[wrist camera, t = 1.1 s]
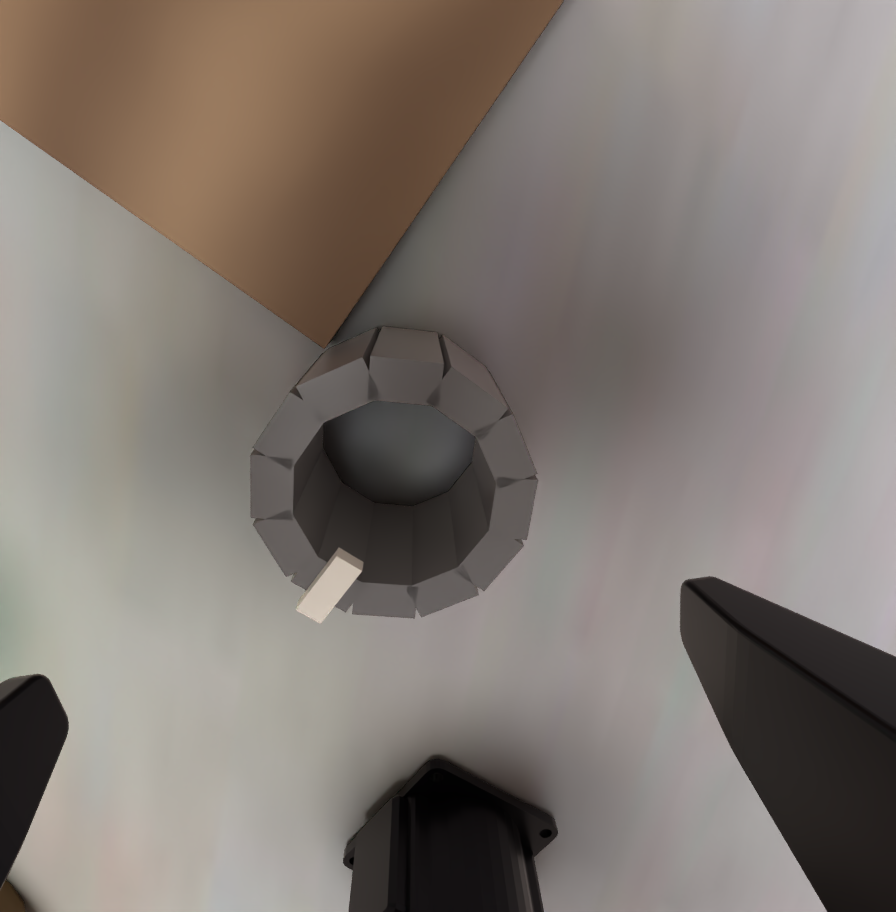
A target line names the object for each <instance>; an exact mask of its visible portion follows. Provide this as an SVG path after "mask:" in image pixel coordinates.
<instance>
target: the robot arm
mask: <svg viewBox="0 0 896 912" xmlns="http://www.w3.org/2000/svg"><path fill="white" fill-rule="evenodd" d="M680 632H681V637H682V641H683V644H684V647H685V649H686V651H687V653H688V656H689V658H690V660H691V662H692V664H693V667H694V669H695V671H696V673H697V675H698V677H699V680H700V682H701V684H702V686H703V688H704V691H705V693H706V695H707V697H708V699H709V702H710V704H711V706H712V708H713V710H714V712H715V715H716V717H717V719H718V721H719V723H720V726H721V728H722V730H723V732H724V734H725V736H726V738H727V740H728V742H729V744H730V746H731V748H732V750H733V752H734V754H735V756H736V757H737V759H738V761H739V763H740V764H741V766H742V768H743V770H744V771H745V773H746V775H747V776H748V778H749V780H750V781H751V783H752V785H753V787H754V788H755V790H756V792H757V793H758V795H759V797H760V798H761V800H762V802H763V804H764V805H765V807H766V809H767V810H768V812H769V814H770V815H771V817H772V819H773V820H774V822H775V824H776V826H777V827H778V829H779V831H780V832H781V834H782V836H783V837H784V839H785V841H786V842H787V844H788V846H789V848H790V849H791V851H792V853H793V854H794V856H795V858H796V859H797V861H798V863H799V864H800V866H801V868H802V870H803V871H804V873H805V875H806V876H807V878H808V880H809V881H810V883H811V885H812V887H813V888H814V890H815V892H816V893H817V895H818V897H819V898H820V900H821V902H822V903H823V905H824V907H825V909H826V910H827V912H896V657H895V656H893V655H891V654H889V653H886V652H884V651H882V650H879V649H877V648H875V647H873V646H870V645H868V644H866V643H864V642H861V641H859V640H857V639H854V638H852V637H850V636H848V635H845V634H843V633H841V632H839V631H836V630H834V629H832V628H829V627H827V626H825V625H823V624H820V623H818V622H816V621H814V620H811V619H809V618H807V617H804V616H802V615H800V614H798V613H795V612H793V611H791V610H789V609H786V608H784V607H782V606H779V605H777V604H775V603H773V602H770V601H768V600H766V599H764V598H761V597H759V596H757V595H754V594H752V593H750V592H748V591H745V590H743V589H741V588H739V587H736V586H734V585H732V584H729V583H727V582H725V581H723V580H720V579H718V578H716V577H711V576H708V577H701V578H695V579H688V580H685V581H684V582H683V583H682V586H681V594H680ZM68 729H69V722H68V717H67V715H66V712H65V710H64V708H63V706H62V704H61V702H60V700H59V698H58V696H57V694H56V692H55V690H54V688H53V686H52V684H51V682H50V680H49V679H48V678H47V677H46V676H44V675H41V674H33V675H26V676H19V677H13V678H10V679H8V680H6V681H4V682H2V683H0V889H1V887H2V885H3V883H4V882H5V880H6V878H7V876H8V874H9V872H10V870H11V868H12V865H13V863H14V861H15V859H16V857H17V855H18V853H19V851H20V849H21V846H22V844H23V842H24V840H25V837H26V835H27V833H28V830H29V828H30V825H31V823H32V820H33V818H34V816H35V813H36V811H37V808H38V806H39V803H40V801H41V799H42V796H43V794H44V791H45V789H46V786H47V784H48V781H49V779H50V777H51V774H52V772H53V769H54V767H55V764H56V762H57V759H58V757H59V755H60V752H61V750H62V747H63V745H64V742H65V740H66V737H67V734H68ZM435 773H437V774H435ZM557 834H558V830H557V826H556V822H555V819H554V818H552V817H551V816H549V815H547V814H545V813H543V812H541V811H540V810H538V809H536V808H534V807H532V806H530V805H528V804H526V803H524V802H522V801H520V800H519V799H517V798H515V797H513V796H511V795H509V794H507V793H505V792H503V791H501V790H499V789H498V788H496V787H494V786H492V785H490V784H488V783H486V782H484V781H482V780H480V779H478V778H477V777H475V776H473V775H471V774H469V773H467V772H465V771H463V770H461V769H459V768H457V767H456V766H454V765H452V764H450V763H448V762H446V761H444V760H441V759H434V760H431V761H429V762H428V763H426V764H425V765H424V766H423V767H422V768H421V769H420V770H419V771H418V773H417V774H416V775H415V776H414V777H413V778H412V779H411V780H410V781H409V782H408V783H407V784H406V785H405V786H404V787H403V788H402V789H401V790H400V791H399V792H398V793H397V794H396V795H395V796H394V797H393V798H391V799H390V800H389V801H388V802H387V803H386V804H385V805H384V806H383V807H382V808H381V809H380V810H379V811H378V812H377V813H376V814H375V816H374V817H373V818H372V819H371V820H370V821H369V822H368V823H367V824H366V825H365V826H364V827H363V828H362V829H361V830H360V831H359V832H358V833H357V836H356V837H355V838H354V839H353V840H352V841H351V842H350V843H349V844H348V845H347V846H346V848H345V850H344V858H343V863H344V865H345V866H346V867H348V868H349V869H352V870H353V874H352V884H351V894H350V903H349V912H544V909H543V904H542V898H541V893H540V888H539V883H538V877H537V872H536V867H535V861H534V857H535V856H536V855H537V854H538V853H539V852H540V851H541V850H542V849H543V848H545V847H546V846H547V845H548V844H549V843H550V842H551V841H552V840H553V839H555V837H556V836H557Z"/></svg>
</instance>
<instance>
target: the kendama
mask: <svg viewBox="0 0 896 912" xmlns="http://www.w3.org/2000/svg"><path fill="white" fill-rule="evenodd" d="M0 912H25V905H24V902H23V900H22V898H21V897H20V895H19V894H18V893H17V892H16V890H15V889H14V888H13V886H12V885H11V884H10V883H9V882H8V881H6V880H5V882H4V883H3V885H2V887H1V889H0Z"/></svg>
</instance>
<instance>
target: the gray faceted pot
mask: <svg viewBox="0 0 896 912" xmlns="http://www.w3.org/2000/svg"><path fill="white" fill-rule="evenodd" d="M374 400H377V401H387V402H397V403H407V404H417V405H427V406H432V407H434V408H435V409H437V410H438V411H440V412H441V413H442V414H444V415H445V416H447V417H448V418H450V419H451V420H452V421H454V422H455V423H457V424H458V425H460V426H461V427H462V428H464V429H465V430H467V431H468V432H469V433H471V434H472V435H474V436H475V443H474V450H473V457H472V463H471V464H470V465H469V466H468V468H467V469H466V470H465V471H464V473H463V474H462V475H461V476H460V478H459V479H458V480H457V481H456V483H455V484H454V485H453V486H452V488H451V489H450V490H449V491H448V492H446V493H444V494H441V495H439V496H436V497H434V498H431V499H429V500H427V501H424V502H422V503H419V504H417V505H415V506H405V505H393V504H381V503H374V502H372V501H370V500H369V499H367V498H366V497H364V496H362V495H361V494H359V493H358V492H356V491H355V490H353V489H351V488H350V487H348V486H347V485H345V484H343V483H342V482H341V480H340V479H339V477H338V475H337V473H336V471H335V470H334V468H333V466H332V464H331V462H330V460H329V459H328V457H327V455H326V453H325V451H324V449H323V436H324V422H326V421H329V420H331V419H333V418H336V417H338V416H340V415H342V414H345V413H347V412H349V411H352V410H354V409H356V408H358V407H361V406H363V405H365V404H368V403H370V402H372V401H374ZM253 448H254V449H255V450H254V451H253V452H252V453H251V518H256V520H255V521H254V523H253V526H254V527H255V529H256V530H257V532H258V533H259V535H260V537H261V538H262V540H263V541H264V543H265V545H266V546H267V548H268V549H269V551H270V552H271V554H272V556H273V557H274V559H275V560H276V562H277V564H278V565H279V567H280V568H281V570H282V571H283V573H284V575H285V576H286V577H287V576H289V575H292V574H294V575H293V578H292V580H291V582H293V583H294V584H296V585H298V586H300V587H302V588H303V589H305V590H306V591H305V593H304V594H303V595H302V597H301V598H300V599H299V601H298V604H297V607H296V611H298V612H300V613H302V614H304V615H305V616H307V617H309V618H311V619H313V620H314V621H316V622H318V623H320V624H321V623H322V621H323V620H324V619H325V618H326V616H327V615H328V614H329V613H330V611H331V610H332V609H333V607H334V606H335V607H337V608H339V609H341V610H342V611H344V612H346V611H347V610H348V609H349V607H350V606H351V605H352V604H353V611H352V614H356V615H371V616H386V617H401V618H415V611H416V608H417V610H418V612H419V614H420V616H421V617H424V616H426V615H429V614H431V613H434V612H436V611H439V610H441V609H444V608H446V607H449V606H452V605H454V604H457V603H459V602H462V601H464V600H467V599H469V598H472V597H474V596H477V595H478V589H477V587H478V588H480V589H482V590H483V591H485V589H486V588H487V587H488V586H489V585H490V584H491V583H492V581H493V580H494V579H495V578H496V577H497V576H498V575H499V574H500V572H501V571H502V570H503V569H504V568H505V567H506V566H507V564H508V563H509V562H510V561H511V560H512V559H513V558H514V556H515V555H516V554H517V553H518V552H519V551H520V550H521V548H522V547H523V546H524V545H523V542H522V540H521V539H523V540H527V536H528V530H529V525H530V520H531V514H532V509H533V504H534V498H535V493H536V488H537V482H538V480H537V478H536V476H535V474H537V472H536V469H535V467H534V464H533V462H532V460H531V457H530V455H529V452H528V450H527V447H526V445H525V442H524V440H523V437H522V435H521V432H520V430H519V427H518V425H517V422H516V420H515V418H514V415H513V413H512V411H511V409H510V408H509V406H508V404H507V402H506V400H505V399H504V397H503V395H502V393H501V392H500V390H499V388H498V386H497V384H496V383H495V381H494V379H493V377H492V375H491V374H490V372H489V371H488V370H487V368H486V366H484V365H483V364H482V363H480V362H479V361H478V360H476V359H475V358H474V357H472V356H471V355H470V354H468V353H467V352H466V351H464V350H463V349H462V348H460V347H459V346H458V345H456V344H455V343H454V342H452V341H451V340H449V339H448V338H447V337H445V336H444V335H442V336H441V338H440V339H438V334H437V332H430V331H421V330H412V329H403V328H394V327H385V326H382V329H381V331H380V333H379V331H378V329H377V327H376V328H373V329H371V330H369V331H367V332H365V333H362V334H360V335H358V336H356V337H354V338H351V339H349V340H347V341H345V342H342V343H340V344H338V345H336V346H334V347H331V348H329V349H327V350H326V351H325V353H324V354H323V353H322V355H321V356H320V357H319V358H318V359H317V360H316V362H315V363H314V364H313V365H312V366H311V368H310V369H309V370H308V371H307V372H306V373H305V375H304V376H303V377H302V378H301V379H300V380H299V382H298V383H297V384H296V385H295V386H294V387H293V389H292V390H291V391H290V392H289V394H288V395H287V397H286V398H285V400H284V401H283V403H282V404H281V406H280V407H279V409H278V410H277V412H276V413H275V415H274V416H273V418H272V419H271V421H270V422H269V424H268V425H267V427H266V428H265V430H264V431H263V433H262V434H261V436H260V437H259V439H258V440H257V442H256V443H255V445H254V446H253Z"/></svg>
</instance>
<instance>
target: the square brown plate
mask: <svg viewBox="0 0 896 912" xmlns="http://www.w3.org/2000/svg"><path fill="white" fill-rule="evenodd" d="M563 2H564V0H0V120H1V121H2V122H4V123H5V124H6V125H8V126H9V127H11V128H12V129H13V130H15V131H16V132H18V133H19V134H21V135H22V136H23V137H25V138H26V139H28V140H29V141H30V142H32V143H33V144H35V145H36V146H38V147H39V148H40V149H42V150H43V151H45V152H46V153H47V154H49V155H50V156H52V157H53V158H55V159H56V160H57V161H59V162H60V163H62V164H63V165H64V166H66V167H67V168H69V169H70V170H72V171H73V172H74V173H76V174H77V175H79V176H80V177H81V178H83V179H84V180H86V181H87V182H89V183H90V184H91V185H93V186H94V187H96V188H97V189H98V190H100V191H101V192H103V193H104V194H106V195H107V196H108V197H110V198H111V199H113V200H114V201H115V202H117V203H118V204H120V205H121V206H123V207H124V208H125V209H127V210H128V211H130V212H131V213H132V214H134V215H135V216H137V217H138V218H140V219H141V220H142V221H144V222H145V223H147V224H148V225H149V226H151V227H152V228H154V229H155V230H157V231H158V232H159V233H161V234H162V235H164V236H165V237H166V238H168V239H169V240H171V241H172V242H174V243H175V244H176V245H178V246H179V247H181V248H182V249H183V250H185V251H186V252H188V253H189V254H191V255H192V256H193V257H195V258H196V259H198V260H199V261H200V262H202V263H203V264H205V265H206V266H208V267H209V268H210V269H212V270H213V271H215V272H216V273H217V274H219V275H220V276H222V277H223V278H225V279H226V280H227V281H229V282H230V283H232V284H233V285H234V286H236V287H237V288H239V289H240V290H242V291H243V292H244V293H246V294H247V295H249V296H250V297H251V298H253V299H254V300H256V301H257V302H259V303H260V304H261V305H263V306H264V307H266V308H267V309H268V310H270V311H271V312H273V313H274V314H276V315H277V316H278V317H280V318H281V319H283V320H284V321H285V322H287V323H288V324H290V325H291V326H293V327H294V328H295V329H297V330H298V331H300V332H301V333H302V334H304V335H305V336H307V337H308V338H310V339H311V340H312V341H314V342H315V343H317V344H318V345H319V346H321V347H322V348H324V349H325V348H326V346H327V345H328V344H329V343H330V342H331V340H332V339H333V337H334V336H335V334H336V333H337V331H338V330H339V328H340V327H341V326H342V324H343V323H344V321H345V320H346V318H347V317H348V315H349V314H350V312H351V311H352V310H353V308H354V307H355V305H356V304H357V302H358V301H359V299H360V298H361V296H362V295H363V293H364V292H365V291H366V289H367V288H368V286H369V285H370V283H371V282H372V280H373V279H374V277H375V276H376V274H377V273H378V272H379V270H380V269H381V267H382V266H383V264H384V263H385V261H386V260H387V258H388V257H389V255H390V254H391V253H392V251H393V250H394V248H395V247H396V245H397V244H398V242H399V241H400V239H401V238H402V237H403V235H404V234H405V232H406V231H407V229H408V228H409V226H410V225H411V223H412V222H413V220H414V219H415V218H416V216H417V215H418V213H419V212H420V210H421V209H422V207H423V206H424V204H425V203H426V201H427V200H428V199H429V197H430V196H431V194H432V193H433V191H434V190H435V188H436V187H437V185H438V184H439V183H440V181H441V180H442V178H443V177H444V175H445V174H446V172H447V171H448V169H449V168H450V166H451V165H452V164H453V162H454V161H455V159H456V158H457V156H458V155H459V153H460V152H461V150H462V149H463V147H464V146H465V145H466V143H467V142H468V140H469V139H470V137H471V136H472V134H473V133H474V131H475V130H476V128H477V127H478V126H479V124H480V123H481V121H482V120H483V118H484V117H485V115H486V114H487V112H488V111H489V110H490V108H491V107H492V105H493V104H494V102H495V101H496V99H497V98H498V96H499V95H500V93H501V92H502V91H503V89H504V88H505V86H506V85H507V83H508V82H509V80H510V79H511V77H512V76H513V74H514V73H515V72H516V70H517V69H518V67H519V66H520V64H521V63H522V61H523V60H524V58H525V57H526V56H527V54H528V53H529V51H530V50H531V48H532V47H533V45H534V44H535V42H536V41H537V39H538V38H539V37H540V35H541V34H542V32H543V31H544V29H545V28H546V26H547V25H548V23H549V22H550V20H551V19H552V18H553V16H554V15H555V13H556V12H557V10H558V9H559V7H560V6H561V4H562V3H563Z"/></svg>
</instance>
